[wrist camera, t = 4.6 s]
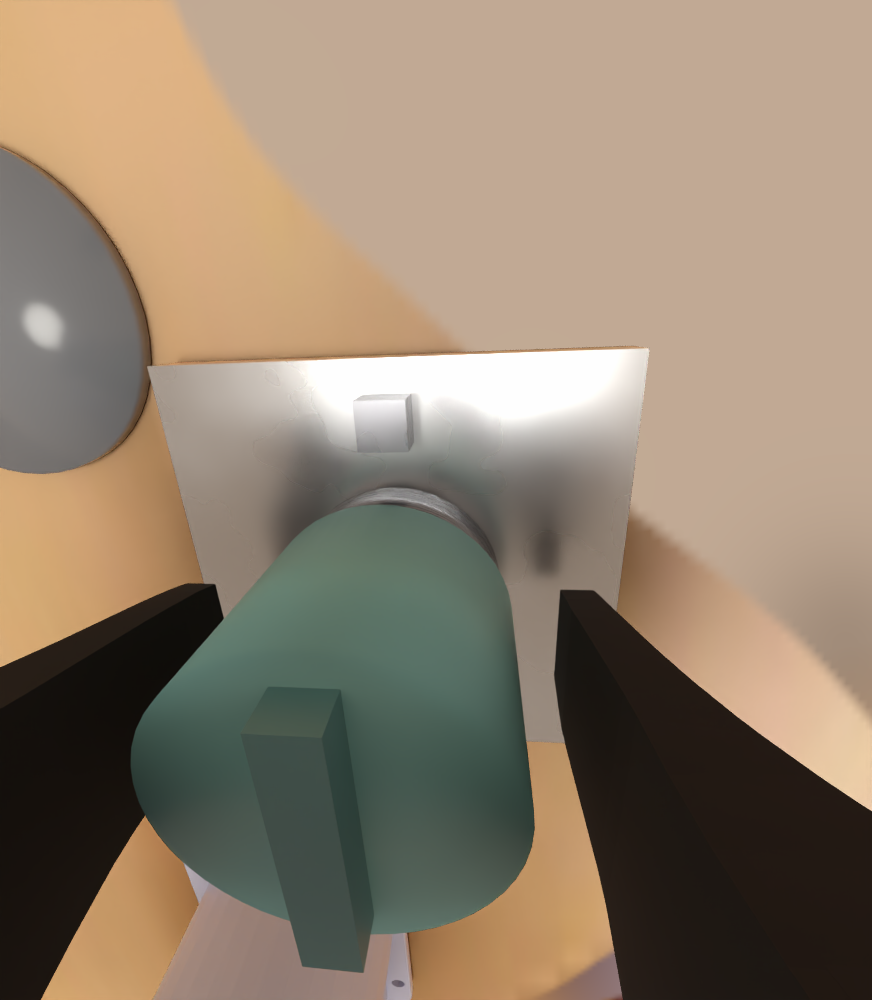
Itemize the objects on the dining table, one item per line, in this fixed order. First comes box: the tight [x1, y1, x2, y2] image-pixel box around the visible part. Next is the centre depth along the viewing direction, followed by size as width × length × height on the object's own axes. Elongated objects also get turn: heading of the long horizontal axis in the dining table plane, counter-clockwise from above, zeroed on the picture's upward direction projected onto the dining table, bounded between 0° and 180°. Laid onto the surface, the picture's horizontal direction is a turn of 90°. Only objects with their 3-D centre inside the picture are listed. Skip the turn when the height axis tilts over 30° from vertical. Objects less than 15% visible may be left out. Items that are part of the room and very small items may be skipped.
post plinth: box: [147, 346, 650, 743], centre depth 10 cm, size 10×10×2 cm
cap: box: [131, 505, 535, 973], centre depth 7 cm, size 5×5×5 cm
